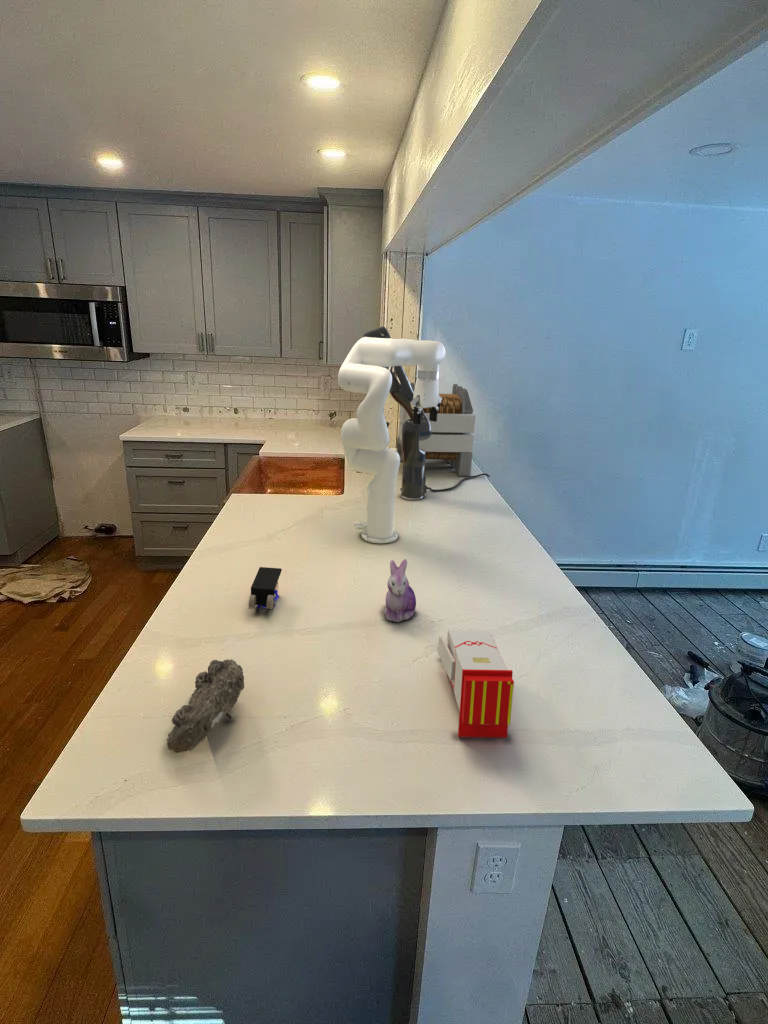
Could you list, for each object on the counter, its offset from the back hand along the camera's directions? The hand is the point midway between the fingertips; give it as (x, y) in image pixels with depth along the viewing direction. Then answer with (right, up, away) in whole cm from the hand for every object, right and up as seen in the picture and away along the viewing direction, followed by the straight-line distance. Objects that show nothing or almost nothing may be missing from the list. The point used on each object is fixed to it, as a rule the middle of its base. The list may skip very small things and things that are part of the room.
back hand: (374, 442), depth 279 cm
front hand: (+20, -1, -67) cm, 70 cm away
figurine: (+9, -61, -131) cm, 145 cm away
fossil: (-28, -73, -171) cm, 188 cm away
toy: (+22, -72, -160) cm, 177 cm away
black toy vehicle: (-27, -58, -129) cm, 144 cm away
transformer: (+29, -11, +8) cm, 32 cm away
